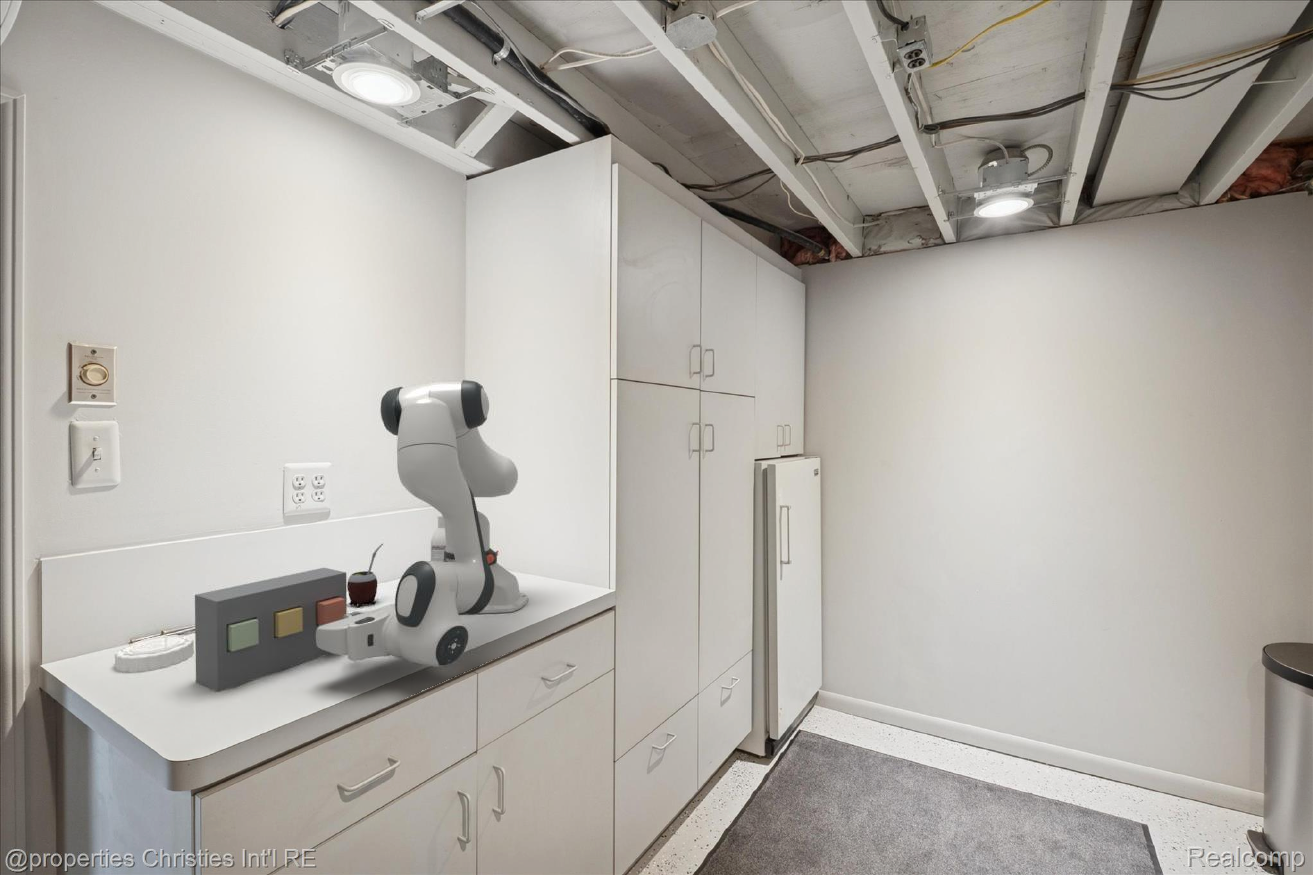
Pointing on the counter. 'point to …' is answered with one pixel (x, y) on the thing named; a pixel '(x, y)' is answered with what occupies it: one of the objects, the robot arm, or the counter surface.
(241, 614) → the console
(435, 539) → the bath foam
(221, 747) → the counter surface
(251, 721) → the counter surface
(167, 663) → the mooncake
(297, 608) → the button ochre
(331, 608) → the button brick
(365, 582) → the mate gourd
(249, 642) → the button sage
